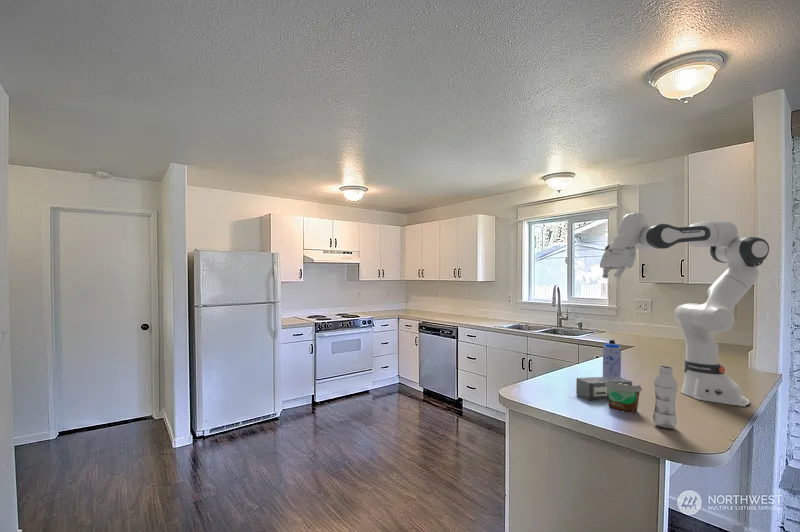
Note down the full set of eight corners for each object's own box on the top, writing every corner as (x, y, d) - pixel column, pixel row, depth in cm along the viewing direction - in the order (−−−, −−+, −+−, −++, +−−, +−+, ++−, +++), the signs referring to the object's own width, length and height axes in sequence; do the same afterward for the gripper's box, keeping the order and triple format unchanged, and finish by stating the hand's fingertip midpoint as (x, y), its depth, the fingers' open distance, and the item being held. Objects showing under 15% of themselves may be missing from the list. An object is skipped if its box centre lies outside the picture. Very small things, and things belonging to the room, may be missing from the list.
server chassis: (617, 392, 168) (617, 376, 168) (632, 399, 160) (633, 381, 160) (576, 394, 164) (576, 377, 164) (590, 401, 156) (590, 383, 156)
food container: (600, 407, 149) (600, 381, 149) (605, 404, 153) (605, 378, 153) (637, 416, 140) (638, 388, 140) (641, 412, 145) (641, 385, 145)
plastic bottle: (655, 421, 135) (656, 363, 136) (678, 427, 130) (679, 367, 131) (650, 426, 131) (651, 366, 131) (674, 432, 126) (675, 370, 126)
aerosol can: (622, 386, 179) (623, 342, 179) (603, 383, 182) (603, 340, 182) (619, 381, 186) (620, 339, 187) (601, 379, 189) (601, 338, 189)
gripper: (644, 248, 158) (631, 280, 157) (616, 252, 178) (604, 280, 177) (629, 242, 158) (616, 274, 157) (603, 247, 178) (591, 275, 177)
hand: (610, 277), depth 167 cm, fingers open, 8 cm apart
